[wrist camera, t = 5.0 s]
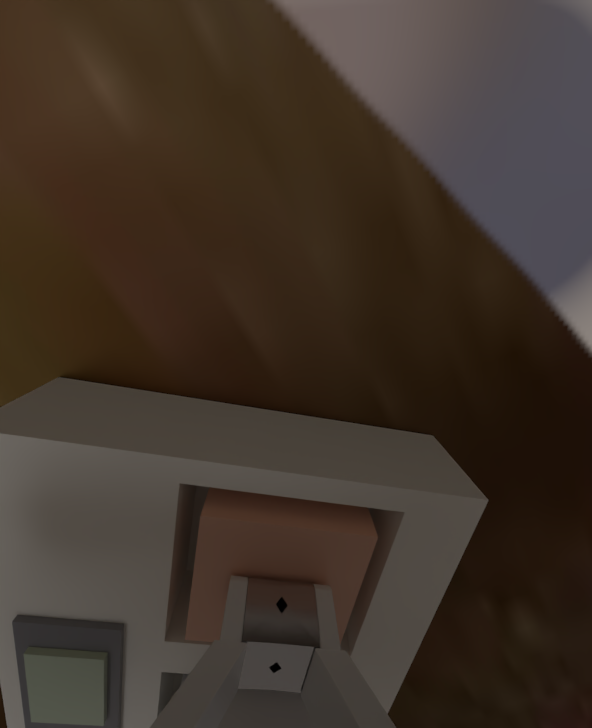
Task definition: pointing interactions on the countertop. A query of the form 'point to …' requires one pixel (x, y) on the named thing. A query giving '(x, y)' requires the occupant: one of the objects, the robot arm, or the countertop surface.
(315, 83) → the countertop surface
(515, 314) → the countertop surface
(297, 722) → the grey key
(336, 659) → the robot arm
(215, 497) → the terracotta key
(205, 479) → the keypad
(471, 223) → the countertop surface
